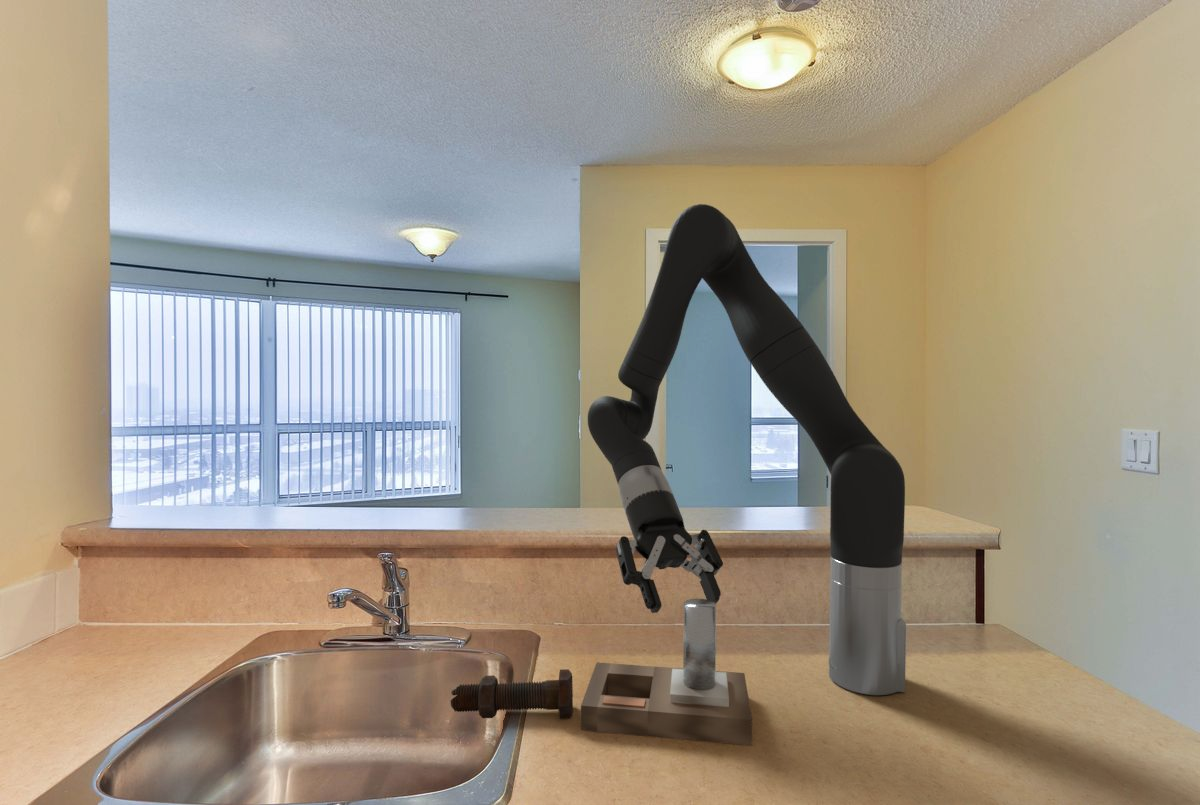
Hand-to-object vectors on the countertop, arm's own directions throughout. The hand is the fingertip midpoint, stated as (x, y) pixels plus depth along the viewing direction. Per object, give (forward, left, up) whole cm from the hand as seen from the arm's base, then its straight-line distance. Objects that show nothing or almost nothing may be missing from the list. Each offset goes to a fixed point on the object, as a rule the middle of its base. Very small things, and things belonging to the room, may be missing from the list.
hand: (686, 606), depth 82 cm
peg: (-2, +3, -9) cm, 9 cm away
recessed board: (+2, +3, -13) cm, 13 cm away
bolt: (+22, +6, -13) cm, 26 cm away
